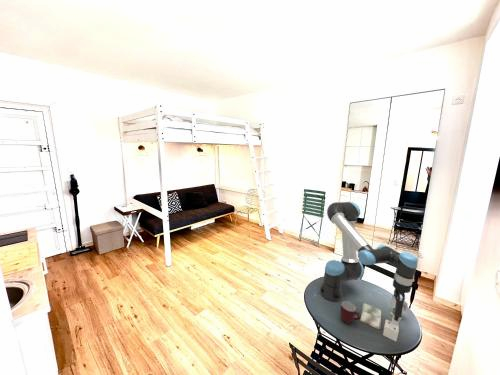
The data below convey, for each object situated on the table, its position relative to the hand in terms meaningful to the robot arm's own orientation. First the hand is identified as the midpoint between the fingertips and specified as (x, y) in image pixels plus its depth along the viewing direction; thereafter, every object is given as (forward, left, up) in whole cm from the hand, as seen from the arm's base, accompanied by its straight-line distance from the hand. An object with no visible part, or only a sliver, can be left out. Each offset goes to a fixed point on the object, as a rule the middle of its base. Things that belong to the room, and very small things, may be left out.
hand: (394, 315), depth 109 cm
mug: (-20, -4, -13) cm, 25 cm away
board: (-10, +8, -13) cm, 18 cm away
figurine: (+4, +19, -13) cm, 23 cm away
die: (0, 0, -13) cm, 13 cm away
